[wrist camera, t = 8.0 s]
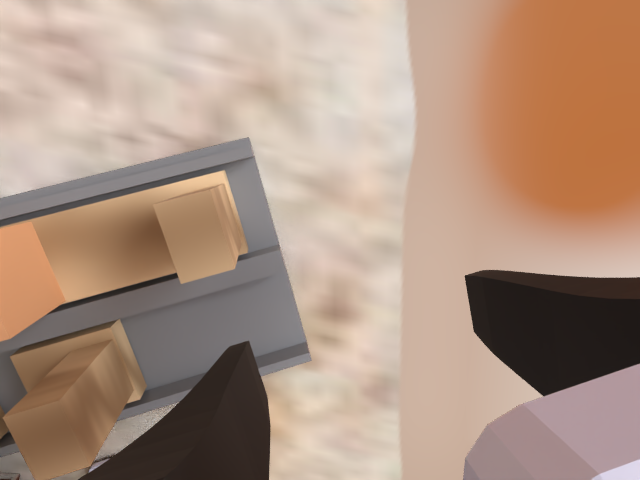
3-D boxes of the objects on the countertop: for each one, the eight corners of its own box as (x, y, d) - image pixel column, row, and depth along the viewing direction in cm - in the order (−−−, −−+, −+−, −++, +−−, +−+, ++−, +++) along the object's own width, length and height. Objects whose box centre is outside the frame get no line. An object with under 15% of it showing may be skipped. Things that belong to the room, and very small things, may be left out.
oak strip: (248, 247, 20) (242, 283, 14) (11, 312, 19) (-108, 382, 13) (224, 170, 19) (207, 171, 13) (-26, 233, 18) (-176, 268, 12)
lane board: (308, 345, 22) (312, 362, 20) (-82, 465, 20) (-117, 495, 18) (249, 138, 19) (247, 134, 18) (-211, 251, 17) (-268, 261, 15)
